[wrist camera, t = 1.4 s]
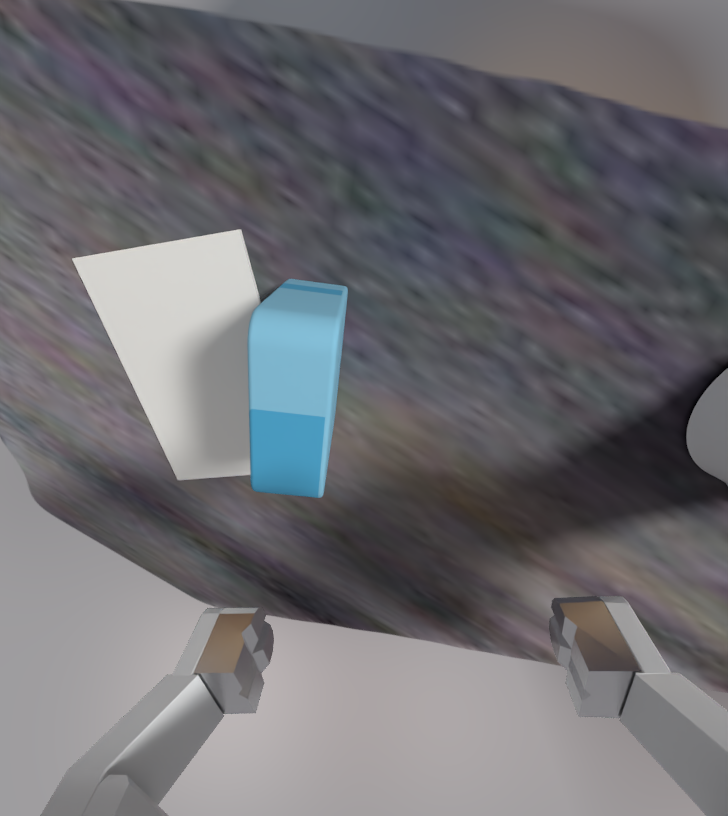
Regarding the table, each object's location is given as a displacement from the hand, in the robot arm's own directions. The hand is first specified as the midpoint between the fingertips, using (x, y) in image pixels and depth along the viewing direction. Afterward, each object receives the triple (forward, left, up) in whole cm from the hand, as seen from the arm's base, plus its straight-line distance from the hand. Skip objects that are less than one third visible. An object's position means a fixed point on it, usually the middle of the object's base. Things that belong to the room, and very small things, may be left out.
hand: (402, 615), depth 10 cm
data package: (+7, 0, -23) cm, 24 cm away
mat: (+17, +1, -23) cm, 29 cm away
